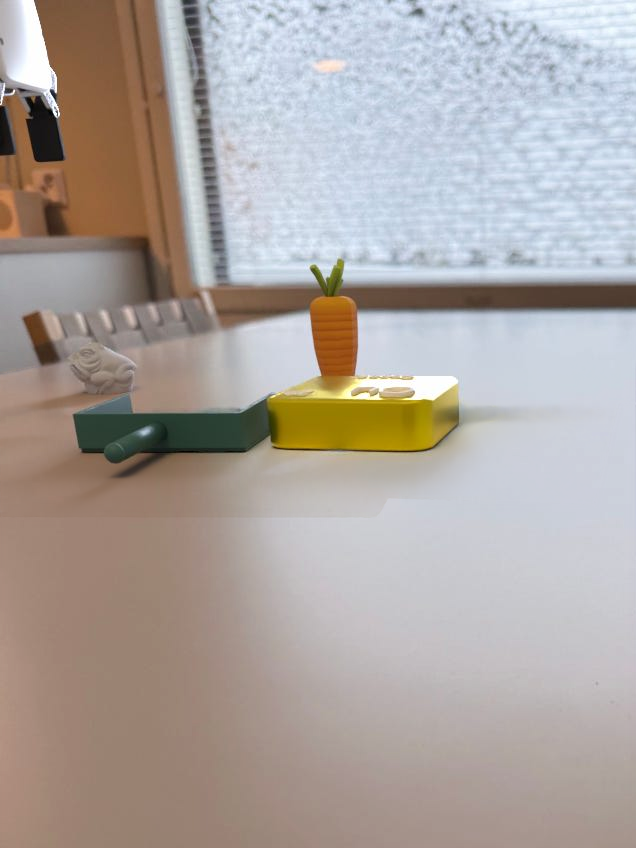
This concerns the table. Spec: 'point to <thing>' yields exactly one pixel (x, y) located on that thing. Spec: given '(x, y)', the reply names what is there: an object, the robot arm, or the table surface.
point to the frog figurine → (102, 369)
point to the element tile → (364, 413)
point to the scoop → (167, 429)
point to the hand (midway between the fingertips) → (26, 158)
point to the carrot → (334, 326)
